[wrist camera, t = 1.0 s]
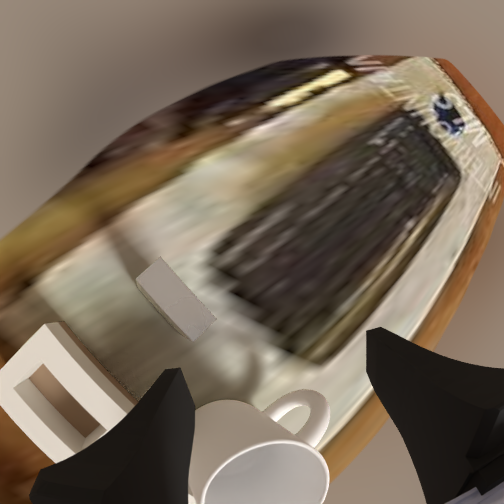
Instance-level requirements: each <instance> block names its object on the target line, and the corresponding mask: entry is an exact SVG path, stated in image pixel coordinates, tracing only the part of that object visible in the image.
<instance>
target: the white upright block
mask: <svg viewBox="0 0 504 504" xmlns="http://www.w3.org/2000/svg"><path fill="white" fill-rule="evenodd" d="M136 284H137V288H138V289H139V290H140V291H141V292H142V293H143V295H144V296H145V297H146V298H147V299H148V300H149V301H150V303H151V304H152V305H153V306H154V307H155V308H156V309H157V310H158V311H159V312H160V314H161V315H162V316H163V317H164V318H165V319H166V320H167V321H168V322H169V323H170V324H171V325H172V327H173V328H174V329H175V330H176V331H177V332H178V333H179V334H181V335H182V336H184V337H186V338H187V339H189V340H191V341H192V342H194V341H195V340H196V339H197V338H198V337H199V336H200V335H201V334H202V333H203V332H204V331H205V330H206V329H207V328H208V327H209V326H210V325H211V324H212V323H213V322H214V321H215V320H216V318H215V316H214V315H213V314H212V313H211V312H210V311H209V310H208V309H207V308H206V307H205V306H204V305H203V304H202V302H201V301H200V300H199V299H198V298H197V297H196V296H195V295H194V294H193V293H192V292H191V290H190V289H189V288H188V287H187V286H186V285H185V284H184V283H183V282H182V280H181V279H180V278H179V277H178V276H177V275H176V274H175V273H174V271H173V270H172V269H171V268H170V267H169V266H168V265H167V263H166V262H165V261H164V260H163V259H162V258H161V256H160V257H159V258H158V259H157V260H156V261H155V262H154V263H153V264H151V265H150V266H149V267H148V268H147V269H146V270H145V271H144V272H142V273H141V274H140V275H139V276H138V277H137V278H136Z"/></svg>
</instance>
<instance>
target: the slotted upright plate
mask: <svg viewBox="0 0 504 504" xmlns="http://www.w3.org/2000/svg"><path fill="white" fill-rule="evenodd" d="M137 403H138V401H137V400H136V399H135V398H134V397H133V396H132V395H131V394H130V393H129V392H128V391H127V390H126V389H125V388H124V387H123V386H121V385H120V383H119V382H118V381H117V380H116V379H115V378H114V377H113V376H112V375H111V374H110V373H109V372H108V371H107V370H106V369H105V368H104V367H103V366H102V365H101V364H100V363H99V362H98V360H97V359H96V358H95V357H94V356H93V355H92V354H91V353H90V352H89V351H88V349H87V348H86V347H85V346H84V345H83V344H82V343H81V341H80V340H79V339H78V338H77V337H76V335H75V334H74V333H73V332H72V331H71V330H70V328H69V327H68V326H67V325H66V323H65V322H64V321H62V322H54V323H46V324H44V325H43V326H42V327H41V328H40V329H39V330H38V331H37V332H36V333H35V334H34V335H33V336H32V337H31V338H30V339H29V340H28V341H27V342H26V343H25V344H24V345H23V346H22V347H21V348H20V349H19V350H18V351H17V353H16V354H15V355H14V356H13V357H12V358H11V359H10V360H9V361H8V362H7V363H6V365H5V366H4V367H3V368H2V369H1V370H0V405H1V407H2V408H3V409H4V410H5V411H6V413H7V414H8V415H9V416H10V417H11V418H12V419H13V421H14V422H15V423H16V424H17V425H18V426H19V427H20V428H21V429H22V430H23V432H24V433H25V434H26V435H27V436H28V437H29V438H30V439H31V440H32V441H33V442H34V443H35V444H36V445H37V446H38V447H39V448H40V449H41V450H42V451H43V452H44V453H45V454H46V455H47V456H48V457H49V458H51V459H52V460H53V461H54V462H55V463H58V462H60V461H63V460H65V459H67V458H69V457H71V456H72V455H74V454H76V453H78V452H80V451H81V450H83V449H85V448H86V447H88V446H89V445H91V444H92V443H94V442H95V441H96V440H98V439H99V438H101V437H102V436H103V435H105V434H106V433H107V432H108V431H110V430H111V429H112V428H113V427H114V426H115V425H117V424H118V423H119V422H120V421H121V420H122V419H123V418H124V417H125V416H126V415H127V414H128V413H129V412H130V411H131V410H132V408H133V407H134V406H135V405H136V404H137ZM188 504H196V501H195V499H194V496H193V493H192V491H191V488H190V485H189V483H188Z"/></svg>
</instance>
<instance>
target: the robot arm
mask: <svg viewBox="0 0 504 504" xmlns="http://www.w3.org/2000/svg"><path fill="white" fill-rule="evenodd" d="M366 372H367V374H368V377H369V379H370V382H371V384H372V386H373V388H374V391H375V392H376V394H377V396H378V397H379V399H380V401H381V402H382V404H383V406H384V407H385V409H386V411H387V412H388V414H389V415H390V417H391V419H392V420H393V422H394V424H395V425H396V427H397V428H398V430H399V432H400V434H401V436H402V437H403V440H404V442H405V444H406V447H407V449H408V451H409V454H410V456H411V459H412V461H413V464H414V466H415V469H416V471H417V474H418V477H419V480H420V483H421V486H422V489H423V492H424V496H425V499H426V503H427V504H504V369H501V368H491V367H484V366H479V365H473V364H469V363H464V362H461V361H457V360H454V359H450V358H447V357H445V356H442V355H439V354H437V353H434V352H432V351H429V350H427V349H425V348H422V347H420V346H418V345H416V344H414V343H412V342H410V341H408V340H406V339H404V338H402V337H400V336H398V335H396V334H394V333H392V332H390V331H388V330H386V329H384V328H382V327H378V328H375V329H371V330H368V331H366ZM194 432H195V405H194V402H193V400H192V397H191V395H190V392H189V389H188V387H187V384H186V382H185V379H184V376H183V374H182V371H181V368H173V369H165V371H164V372H163V373H162V374H161V375H160V376H159V378H158V379H157V380H156V381H155V383H154V384H153V385H152V386H151V388H150V389H149V390H148V391H147V392H146V394H145V395H144V396H143V397H142V398H141V400H140V401H139V402H138V403H137V404H136V405H135V406H134V407H133V408H132V410H131V411H130V412H129V413H128V414H127V415H126V416H125V417H124V418H123V419H122V420H121V421H120V422H119V423H118V424H117V425H115V426H114V427H113V428H112V429H111V430H110V431H108V432H107V433H106V434H105V435H103V436H102V437H101V438H99V439H98V440H96V441H95V442H94V443H92V444H91V445H89V446H88V447H86V448H85V449H83V450H81V451H80V452H78V453H76V454H74V455H72V456H71V457H69V458H67V459H65V460H63V461H60V462H58V463H56V464H53V465H51V466H48V467H46V468H43V469H41V470H40V472H39V474H38V476H37V478H36V481H35V483H34V485H33V487H32V489H31V492H30V494H29V497H30V500H31V502H32V503H33V504H188V478H189V468H190V461H191V454H192V446H193V439H194Z"/></svg>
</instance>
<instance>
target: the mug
mask: <svg viewBox="0 0 504 504" xmlns="http://www.w3.org/2000/svg"><path fill="white" fill-rule="evenodd" d="M304 405H305V406H308V407H309V408H310V410H311V413H310V416H309V418H308V420H307V422H306V424H305V425H304V426H303V427H302V429H301V430H300V431H299V432H298V433H296V434H295V435H294V434H292V433H291V432H290V431H288V430H287V429H285V428H284V427H282V426H281V425H280V424H278V423H277V421H278V420H279V419H280V418H281V417H282V416H283V415H284V414H286V413H287V412H288V411H290V410H291V409H293V408H295V407H298V406H304ZM329 419H330V407H329V404H328V402H327V400H326V398H325V397H324V396H323V395H322V394H320V393H318V392H316V391H314V390H307V389H302V390H297V391H293V392H291V393H288V394H286V395H284V396H282V397H281V398H279V399H277V400H276V401H275V402H273V403H272V404H271V405H269V406H268V407H267V408H266V409H265V410H264V411H262V412H261V411H260V410H258V409H257V408H255V407H253V406H251V405H249V404H247V403H244V402H241V401H237V400H219V401H214V402H211V403H208V404H206V405H204V406H202V407H200V408H198V409H197V410H196V411H195V432H194V439H193V446H192V454H191V461H190V468H189V478H188V483H189V485H190V488H191V491H192V493H193V496H194V499H195V501H196V504H322V503H323V501H324V499H325V496H326V494H327V491H328V487H329V470H328V467H327V464H326V461H325V460H324V458H323V456H322V455H321V454H320V453H319V452H318V451H317V450H316V449H315V448H314V447H315V446H316V445H317V444H318V442H319V441H320V439H321V438H322V436H323V435H324V433H325V431H326V429H327V426H328V424H329Z"/></svg>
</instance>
